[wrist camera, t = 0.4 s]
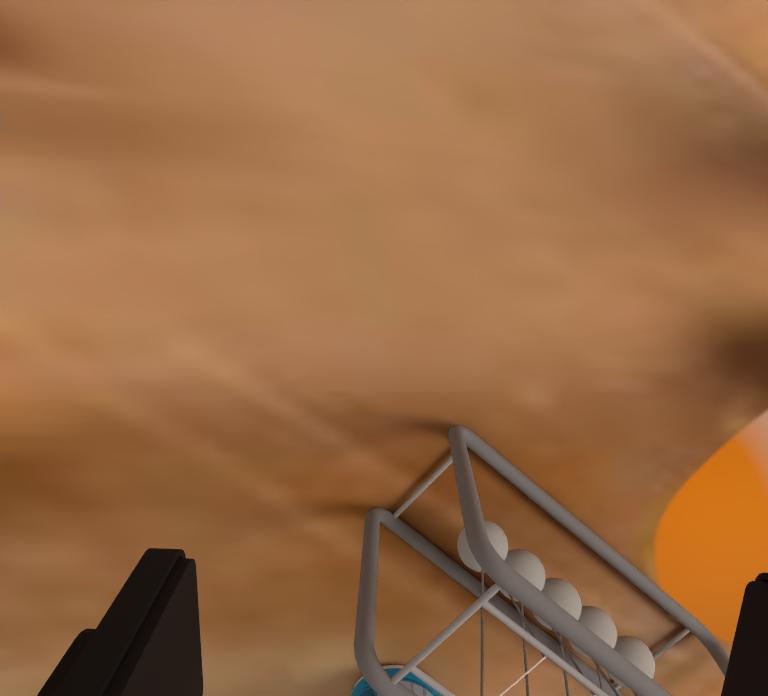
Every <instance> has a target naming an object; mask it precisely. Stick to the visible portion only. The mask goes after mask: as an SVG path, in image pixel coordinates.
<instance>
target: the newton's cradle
mask: <svg viewBox="0 0 768 696" xmlns="http://www.w3.org/2000/svg"><path fill="white" fill-rule="evenodd" d="M448 438H449V444H450V449H451V455H452V456H451V457H450V458H449V459H448V460H447V461H446V462H445V463H444V464H443V465H442V466H441V467H440V468H439V469H438V470H437V471H436V472H435V473H434V474H433V475H432V476H431V477H430V478H429V479H428V480H427V481H426V482H425V483H424V484H423V485H422V486H421V487H420V488H419V489H418V490H417V491H416V492H415V493H414V494H413V495H412V496H411V497H410V498H409V499H408V500H407V501H406V502H405V503H404V504H403V505H402V506H401V507H400V508H399V509H398V510H397V511H396V512H395V513H394V514H393V513H391V512H390V511H388V510H386V509H383V508H373V509H371V510H369V511H368V513H367V515H366V518H365V527H364V539H363V550H362V561H361V572H360V583H359V595H358V606H357V617H356V628H355V639H354V652H355V658H356V661H357V664H358V667H359V669H360V671H361V673H362V675H363V677H364V679H365V680H366V681H367V682H368V684H369V685H370V686H371V688H372V689H373V690H374V691H376V692H377V693H378V694H379V695H380V696H418V695H416V694H415V693H414V692H412V691H411V690H410V689H408V688H407V687H405V686H404V685H403V684H401V683H400V682H399V681H400V680H401V679H402V678H403V677H404V676H406V675H407V674H408V673H409V672H411V673H412V674H414V675H415V676H417V677H418V678H419V679H421V680H422V681H423V682H425V683H426V684H428V685H429V686H430V687H432V688H433V689H434V690H436V691H437V692H439V693H440V694H441V695H443V696H456V695H454V694H453V693H452V692H450V691H449V690H447V689H446V688H445V687H443V686H442V685H441V684H439V683H438V682H436V681H435V680H434V679H432V678H431V677H430V676H428V675H427V674H426V673H424V672H423V671H421V670H420V669H419V668H417V667H416V666H417V665H418V664H419V663H420V662H421V661H422V660H423V659H424V658H425V657H426V656H428V655H429V654H430V653H431V652H432V651H433V650H434V649H435V648H436V647H437V646H439V645H440V644H441V643H442V642H443V641H444V640H445V639H446V638H447V637H448V636H450V635H451V634H452V633H453V632H454V631H455V630H456V629H457V628H458V627H460V626H461V625H462V624H463V623H464V622H465V621H466V620H467V619H468V618H469V617H471V616H472V615H473V614H474V613H475V612H476V611H477V610H478V609H479V608H480V607H481V696H483V638H484V609H486V610H487V611H488V612H489V613H491V614H492V615H493V616H495V617H496V618H497V619H499V620H500V621H501V622H502V623H504V624H505V625H506V626H508V627H509V628H510V629H512V630H513V631H514V632H515V633H517V634H518V635H519V636H521V637H522V638H523V648H524V663H525V673H524V674H523V675H522V676H521V677H520V678H519V679H517V680H516V681H515V682H514V683H513V684H512V685H510V686H509V687H508V688H507V689H506V690H504V691H503V692H502V693H501V694H500V695H499V696H502V695H503V694H504V693H505V692H506V691H507V690H509V689H510V688H511V687H512V686H513V685H515V684H516V683H517V682H518V681H519V680H520V679H522V678H523V677H524V676H525V679H526V695H527V696H529V686H528V673H529V672H530V671H531V670H532V669H533V668H534V667H536V666H537V665H538V664H539V663H540V662H542V661H543V660H544V659H545V658H546V657H548V658H549V659H550V660H552V661H553V662H554V663H556V664H557V665H558V666H559V667H561V668H562V669H563V670H564V678H565V686H566V694H567V696H569V691H568V683H567V675H566V672H567V673H569V674H570V675H571V676H572V677H574V678H575V679H576V680H578V681H579V682H580V683H581V684H583V685H584V686H585V687H587V688H588V689H589V690H590V691H591V693H592V694H593V695H594V696H624V695H623V694H622V693H621V692H620V691H619V690H618V689H619V688H621V687H624V688H628V689H631V690H632V692H633V693H634V694H635V696H638V695H639V696H672V695H671V694H670V693H669V692H667V691H666V690H665V689H663V688H662V687H661V686H660V685H658V684H657V683H656V682H655V681H653V680H652V678H653V676H654V672H655V661H654V660H655V659H657V658H658V657H659V656H660V655H662V654H663V653H664V652H665V651H667V650H668V649H669V648H670V647H672V646H673V645H674V644H675V643H677V642H678V641H679V640H680V639H681V638H683V637H684V636H685V635H686V634H688V633H689V632H690V631H691V632H692V633H693V634H694V635H695V636H696V637H697V638H698V639H699V640H700V641H701V642H702V643H703V645H704V646H705V647H706V648H707V650H708V651H709V652H710V654H711V655H712V657H713V658H714V660H715V661H716V663H717V665H718V666H719V668H720V669H721V671H722V673H723V674H724V676H726V672H727V667H728V663H729V658H730V657H729V655H728V654H727V652H726V651H725V649H724V648H723V647H722V645H721V644H720V642H719V641H718V640H717V639H716V638H715V636H714V635H713V634H712V633H711V632H710V631H709V630H708V629H707V628H706V627H705V626H704V625H703V624H702V623H701V622H700V621H699V620H698V619H697V618H695V617H694V616H693V615H692V614H690V613H689V612H688V611H687V610H686V609H685V608H683V607H682V606H681V605H680V604H678V603H677V602H676V601H675V600H674V599H673V598H671V597H670V596H669V595H668V594H666V593H665V592H664V591H663V590H662V589H661V588H659V587H658V586H657V585H656V584H655V583H653V582H652V581H651V580H650V579H649V578H647V577H646V576H645V575H644V574H643V573H641V572H640V571H639V570H638V569H637V568H635V567H634V566H633V565H632V564H631V563H629V562H628V561H627V560H626V559H625V558H623V557H622V556H621V555H620V554H619V553H617V552H616V551H615V550H614V549H613V548H611V547H610V546H609V545H608V544H607V543H605V542H604V541H603V540H602V539H601V538H599V537H598V536H597V535H596V534H595V533H593V532H592V531H591V530H590V529H589V528H587V527H586V526H585V525H584V524H583V523H581V522H580V521H579V520H578V519H577V518H575V517H574V516H573V515H572V514H571V513H569V512H568V511H567V510H566V509H565V508H563V507H562V506H561V505H560V504H559V503H557V502H556V501H555V500H554V499H553V498H551V497H550V496H549V495H548V494H547V493H545V492H544V491H543V490H542V489H541V488H539V487H538V486H537V485H536V484H535V483H533V482H532V481H531V480H530V479H529V478H527V477H526V476H525V475H524V474H523V473H521V472H520V471H519V470H518V469H517V468H515V467H514V466H513V465H512V464H511V463H509V462H508V461H507V460H506V459H505V458H503V457H502V456H501V455H500V454H499V453H497V452H496V451H495V450H494V449H493V448H491V447H490V446H489V445H488V444H487V443H485V442H484V441H483V440H482V439H481V438H479V437H478V436H477V435H476V434H475V433H473V432H472V431H471V430H469V429H467V428H466V427H464V426H461V425H455V426H452V427H451V428H450V429H449V432H448ZM467 447H469V448H470V449H471V450H472V451H473V452H475V453H476V454H477V455H478V456H479V457H481V458H482V459H483V460H484V461H485V462H487V463H488V464H489V465H490V466H492V467H493V468H494V469H495V470H496V471H498V472H499V473H500V474H501V475H502V476H504V477H505V478H506V479H507V480H508V481H510V482H511V483H512V484H513V485H514V486H516V487H517V488H518V489H519V490H521V491H522V492H523V493H524V494H525V495H527V496H528V497H529V498H530V499H531V500H533V501H534V502H535V503H536V504H537V505H539V506H540V507H541V508H542V509H544V510H545V511H546V512H547V513H548V514H550V515H551V516H552V517H553V518H554V519H556V520H557V521H558V522H559V523H560V524H562V525H563V526H564V527H565V528H567V529H568V530H569V531H570V532H571V533H573V534H574V535H575V536H576V537H577V538H579V539H580V540H581V541H582V542H583V543H585V544H586V545H587V546H588V547H589V548H591V549H592V550H593V551H594V552H596V553H597V554H598V555H599V556H600V557H602V558H603V559H604V560H605V561H606V562H608V563H609V564H610V565H611V566H612V567H614V568H615V569H616V570H617V571H619V572H620V573H621V574H622V575H623V576H625V577H626V578H627V579H628V580H629V581H631V582H632V583H633V584H634V585H635V586H637V587H638V588H639V589H640V590H641V591H643V592H644V593H645V594H646V595H648V596H649V597H650V598H651V599H652V600H654V601H655V602H656V603H657V604H658V605H660V606H661V607H662V608H663V609H664V610H666V611H667V612H668V613H669V614H671V615H672V616H673V617H674V618H675V619H677V620H678V621H679V622H680V623H681V624H683V625H684V626H685V627H686V628H685V629H684V630H682V631H681V632H680V633H679V634H678V635H676V636H675V637H674V638H673V639H671V640H670V641H669V642H668V643H666V644H665V645H664V646H663V647H661V648H660V649H659V650H658V651H657V652H655V653H654V654H653V655H652V653H651V651H650V650H649V648H648V647H647V646H646V645H645V644H644V643H643V642H642V641H640V640H638V639H636V638H634V637H630V636H621V637H617V630H616V627H615V624H614V622H613V620H612V619H611V617H610V616H609V615H608V614H607V613H606V612H605V611H603V610H601V609H599V608H597V607H593V606H583V607H582V604H581V599H580V596H579V594H578V592H577V591H576V589H575V588H574V587H573V586H572V585H571V584H570V583H568V582H567V581H565V580H562V579H559V578H549V579H545V570H544V567H543V565H542V563H541V562H540V560H539V559H538V558H537V557H536V556H535V555H534V554H532V553H531V552H529V551H526V550H522V549H514V550H510V551H508V541H507V538H506V535H505V533H504V532H503V530H502V529H501V528H500V527H499V526H498V525H497V524H495V523H493V522H491V521H488V520H484V519H483V515H482V510H481V506H480V502H479V498H478V494H477V489H476V485H475V481H474V477H473V473H472V468H471V464H470V460H469V456H468V451H467ZM452 462H453V466H454V471H455V477H456V482H457V488H458V493H459V499H460V505H461V510H462V516H463V521H464V528H463V529H462V530H461V532H460V534H459V536H458V540H457V549H458V553H459V556H460V558H461V560H462V561H463V562H464V564H465V565H466V566H467V567H469V568H470V569H472V570H474V571H477V572H481V582H480V581H479V580H478V579H476V578H475V577H474V576H472V575H471V574H470V573H469V572H467V571H466V570H465V569H463V568H462V567H461V566H460V565H458V564H457V563H456V562H454V561H453V560H452V559H451V558H449V557H448V556H447V555H445V554H444V553H443V552H442V551H440V550H439V549H438V548H437V547H435V546H434V545H433V544H431V543H430V542H429V541H428V540H426V539H425V538H424V537H422V536H421V535H420V534H419V533H417V532H416V531H415V530H413V529H412V528H411V527H410V526H408V525H407V524H406V523H404V522H403V521H402V520H401V519H399V518H398V516H399V515H400V514H401V513H402V512H403V511H404V510H405V509H406V508H407V507H408V506H409V505H410V504H411V503H412V502H413V501H414V500H415V499H416V498H417V497H418V496H419V495H420V494H421V493H422V492H423V491H424V490H425V489H426V488H427V487H428V486H429V485H430V484H431V483H432V482H433V481H434V480H435V479H436V478H437V477H438V476H439V475H440V474H441V473H442V472H443V471H444V470H445V469H446V468H447V467H448V466H449V465H450V464H451V463H452ZM380 523H381V524H383V525H385V526H386V527H388V528H389V529H390V530H391V531H393V532H394V533H395V534H397V535H398V536H399V537H400V538H402V539H403V540H404V541H406V542H407V543H408V544H410V545H411V546H412V547H413V548H415V549H416V550H417V551H419V552H420V553H421V554H422V555H424V556H425V557H426V558H428V559H429V560H430V561H431V562H433V563H434V564H435V565H437V566H438V567H439V568H441V569H442V570H443V571H444V572H446V573H447V574H448V575H450V576H451V577H452V578H453V579H455V580H456V581H457V582H459V583H460V584H461V585H463V586H464V587H465V588H466V589H468V590H469V591H470V592H472V593H473V594H474V595H475V596H477V597H478V599H477V600H476V601H475V602H474V603H473V604H472V605H471V606H470V607H468V608H467V609H466V610H465V611H464V612H463V613H462V614H461V615H460V616H459V617H457V618H456V619H455V620H454V621H453V622H452V623H451V624H450V625H449V626H448V627H447V628H445V629H444V630H443V631H442V632H441V633H440V634H439V635H438V636H437V637H436V638H434V639H433V640H432V641H431V642H430V643H429V644H428V645H427V646H426V647H425V648H424V649H422V650H421V651H420V652H419V653H418V654H417V655H416V656H415V657H414V658H413V659H411V660H410V661H409V662H408V663H407V664H406V665H405V666H404V667H403V668H402V669H401V670H399V671H398V672H397V673H396V674H395V675H394V676H393V677H392V676H391V675H389V674H388V673H387V672H386V671H385V669H384V668H383V667H382V666H381V664H380V662H379V660H378V659H377V657H376V654H375V651H374V630H375V609H376V589H377V568H378V548H379V527H380ZM484 572H485V573H486V574H487V575H488V576H489V577H490V578H491V579H492V580H493V581H494V582H495V584H494V585H493V586H491V587H490V588H488V587H486V586H485V585H484ZM499 590H500V591H501V592H502V594H504V595H505V596H506V597H507V598H509V599H511V600H512V602H513V604H514V605H515V607H516V609H517V610H516V609H515V608H513V607H512V606H511V605H510V604H508V603H507V602H506V601H504V600H503V599H502V598H501V597H499V596H498V595H497V594H496V593H497V592H498V591H499ZM515 601H517V602H520V603H521V611H520V609H519V607H518V606H517V604H516V602H515ZM523 605H524V606H525V607H526V608H528V609H529V610H530V611H531V612H533V614H534V616H535V617H536V619H537V620H538V621H539V623H541V624H542V625H543V626H545V627H546V628H548V629H550V630H553V632H554V633H555V635H556V637H557V638H558V640H559V641H560V643H558V642H557V641H556V640H554V639H553V638H552V637H551V636H549V635H548V634H547V633H545V632H544V631H543V630H542V629H540V628H539V627H538V626H536V625H535V624H534V623H533V622H531V621H530V620H529V619H527V618H526V617H525V616H524V612H523ZM556 631H557V632H558V633H559V635H558V634H557V632H556ZM561 635H562V636H563V637H565V638H566V639H567V640H568V641H569V643H570V644H571V646H572V647H573V649H574V650H575V651H576V652H577V653H579V654H580V655H582V656H584V657H586V658H590V659H592V660H593V662H594V663H595V665H596V666H597V671H598V673H597V672H595V671H594V670H593V669H592V668H590V667H589V666H588V665H586V664H585V663H584V662H583V661H581V660H580V659H579V658H577V657H576V656H575V655H574V654H572V653H571V652H570V651H568V649H567V648H566V646H565V645H564V643H563V642H562V637H561ZM525 640H526V641H527V642H528V643H530V644H531V645H532V646H534V647H535V648H536V649H537V650H539V651H540V652H541V654H542V656H543V658H542V659H541V660H540V661H538V662H537V663H536V664H535V665H534V666H533V667H531V668H530V669H529V670H528V671H527V656H526V642H525ZM599 665H600V666H602V667H603V668H604V669H605V670H607V672H608V674H609V676H610V677H611V678H612V679H613V680H614V681H615V682H616V683H617V684H616V685H615V686H613V685H612V684H611V683H610V681H609V680H608V678H607V677H606V675H605V674H604V672H603V671H602V669H601V668H600V666H599ZM600 672H601V674H602V675H603V677H604V678H605V679H604V678H603V677H602V676H601V675H600Z"/></svg>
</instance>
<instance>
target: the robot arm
mask: <svg viewBox="0 0 768 696" xmlns="http://www.w3.org/2000/svg"><path fill="white" fill-rule="evenodd" d="M202 695H203V674H202V658H201V642H200V625H199V609H198V592H197V576H196V564H195V560H194V559H186V557H185V553H184V551H183V550H182V549H158V548H150V549H148V550H147V551H146V552H145V553H144V555H143V556H142V558H141V559H140V561H139V563H138V564H137V566H136V567H135V569H134V570H133V572H132V573H131V575H130V577H129V578H128V580H127V581H126V583H125V584H124V586H123V588H122V589H121V591H120V592H119V594H118V595H117V597H116V598H115V600H114V602H113V603H112V605H111V606H110V608H109V609H108V611H107V613H106V614H105V616H104V617H103V619H102V620H101V622H100V623H99V625H98V627H97V628H96V629H85V630H84V631H82V632H81V633H80V634H79V635H78V636H77V637H76V639H75V640H74V641H73V643H72V644H71V646H70V647H69V649H68V650H67V652H66V653H65V655H64V656H63V658H62V659H61V661H60V662H59V664H58V665H57V667H56V668H55V670H54V671H53V673H52V674H51V676H50V677H49V679H48V680H47V682H46V683H45V685H44V686H43V688H42V689H41V691H40V692H39V694H38V695H37V696H202ZM721 696H768V573H761V574H759V575H758V576H757V578H756V579H755V581H752V582H749V583H748V584H747V586H746V589H745V593H744V597H743V602H742V606H741V611H740V615H739V619H738V623H737V628H736V632H735V637H734V641H733V645H732V650H731V654H730V658H729V663H728V667H727V672H726V676H725V680H724V685H723V689H722V694H721Z"/></svg>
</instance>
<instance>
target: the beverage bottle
mask: <svg viewBox="0 0 768 696" xmlns="http://www.w3.org/2000/svg"><path fill="white" fill-rule="evenodd" d="M382 667H383V668H384V669H385V671H386V672H387V673H388V674H389V675H391V676H392V677H393V676H394V675H395V674H396V673H397V672H398V671H399V670H401V669H402V668H403V667H404V665H387V666H382ZM399 682H400V683H401V684H403V685H404V686H405V687H407V688H408V689H410V690H411V691H412V692H414V693H415V694H416V695H418V696H441V694H440V693H439V692H437V691H436V690H434V689H433V688H432V687H430V686H429V685H428V684H426V683H425V682H423V681H422V680H421V679H419V678H418V677H417V676H415V675H414V674H412V673H411V672H409V673H408V674H407V675H406V676H404V677H403V678H402V679H401V680H400V681H399ZM350 696H380V695H379V694H378V693H377V692H376V691H374V690H373V689H372V688H371V686H370V685H369V684H368V682H367V681H366V680H365V679H364V677H363V676H362V677H361V678H360V679H359V680H358V681H357V683H356V684H355V686H354V687H353V689H352V692H351V695H350Z"/></svg>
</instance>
